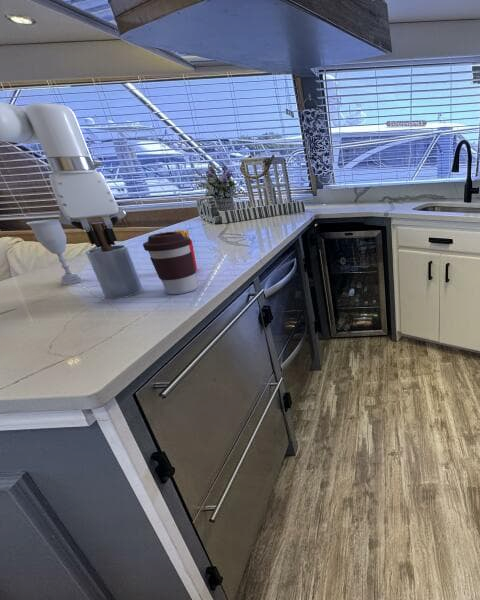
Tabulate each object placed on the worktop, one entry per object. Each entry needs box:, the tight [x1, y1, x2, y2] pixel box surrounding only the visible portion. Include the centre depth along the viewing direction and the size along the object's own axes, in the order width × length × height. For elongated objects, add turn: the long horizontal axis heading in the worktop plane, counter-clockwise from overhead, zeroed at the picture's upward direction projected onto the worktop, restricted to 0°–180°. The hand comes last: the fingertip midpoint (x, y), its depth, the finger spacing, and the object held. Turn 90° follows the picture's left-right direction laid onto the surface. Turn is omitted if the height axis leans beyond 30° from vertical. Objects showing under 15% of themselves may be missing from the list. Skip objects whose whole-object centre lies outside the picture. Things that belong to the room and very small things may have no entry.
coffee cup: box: [142, 231, 199, 295], centre depth 83 cm, size 10×10×15 cm
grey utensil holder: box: [85, 244, 144, 299], centre depth 83 cm, size 8×8×12 cm
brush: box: [90, 222, 113, 252], centre depth 82 cm, size 4×4×18 cm
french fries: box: [159, 229, 198, 271], centre depth 99 cm, size 9×4×13 cm, turn 137°
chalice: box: [26, 218, 85, 286], centre depth 93 cm, size 7×7×18 cm
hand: (105, 244), depth 81 cm, fingers closed on brush, 2 cm apart
